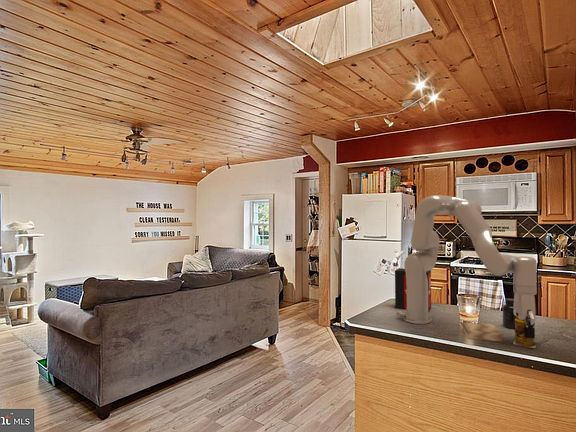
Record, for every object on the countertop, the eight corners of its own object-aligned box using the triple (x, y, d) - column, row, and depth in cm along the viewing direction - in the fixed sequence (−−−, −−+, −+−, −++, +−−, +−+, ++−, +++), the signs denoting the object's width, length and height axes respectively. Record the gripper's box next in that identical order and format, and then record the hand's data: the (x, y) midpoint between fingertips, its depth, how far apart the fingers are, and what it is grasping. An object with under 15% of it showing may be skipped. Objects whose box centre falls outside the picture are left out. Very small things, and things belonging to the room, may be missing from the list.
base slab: (467, 338, 146) (467, 330, 146) (462, 329, 158) (462, 322, 158) (501, 341, 143) (501, 333, 143) (493, 331, 155) (493, 324, 154)
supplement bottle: (523, 329, 157) (523, 301, 156) (506, 328, 158) (505, 301, 158) (517, 324, 163) (516, 298, 163) (500, 324, 165) (500, 297, 164)
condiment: (512, 344, 140) (512, 313, 140) (515, 338, 146) (515, 308, 146) (535, 348, 135) (534, 316, 135) (537, 342, 142) (537, 311, 141)
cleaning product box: (395, 308, 193) (394, 270, 193) (399, 304, 201) (398, 268, 201) (428, 312, 185) (428, 272, 185) (431, 308, 193) (430, 270, 193)
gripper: (507, 284, 150) (507, 326, 150) (521, 293, 133) (521, 340, 133) (528, 285, 148) (528, 327, 148) (544, 294, 131) (545, 342, 131)
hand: (525, 333), depth 141 cm, fingers open, 9 cm apart
